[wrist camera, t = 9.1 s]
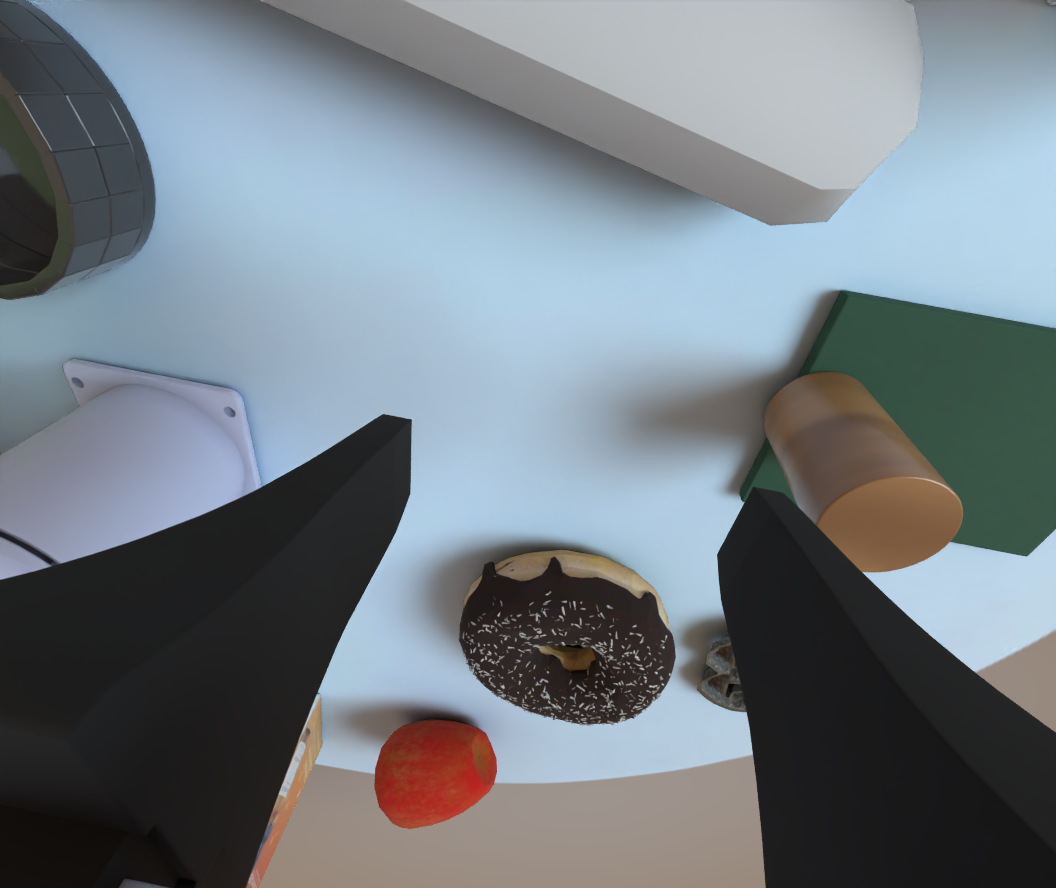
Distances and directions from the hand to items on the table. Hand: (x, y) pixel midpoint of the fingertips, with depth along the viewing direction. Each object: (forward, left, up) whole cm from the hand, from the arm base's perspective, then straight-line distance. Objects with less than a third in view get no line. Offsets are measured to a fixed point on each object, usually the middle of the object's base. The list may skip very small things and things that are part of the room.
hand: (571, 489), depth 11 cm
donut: (-17, -2, -10) cm, 20 cm away
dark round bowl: (+3, +20, -10) cm, 22 cm away
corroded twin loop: (-17, -13, -10) cm, 23 cm away
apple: (-30, 0, -7) cm, 30 cm away
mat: (-2, -14, -10) cm, 17 cm away
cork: (-2, -9, -9) cm, 13 cm away
